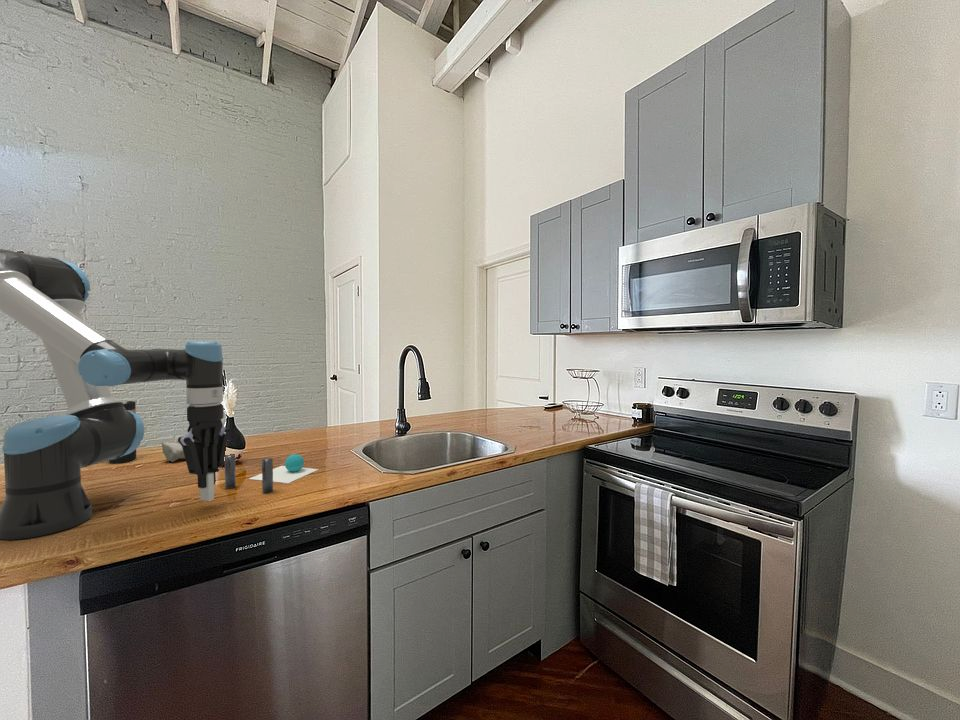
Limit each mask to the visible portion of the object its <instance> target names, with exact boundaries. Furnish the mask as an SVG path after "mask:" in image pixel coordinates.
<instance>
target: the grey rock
mask: <svg viewBox="0 0 960 720" xmlns="http://www.w3.org/2000/svg"><path fill="white" fill-rule="evenodd" d="M184 436H185V435H183V436H182V437H184ZM193 443H194V442H193ZM161 447H162V453H163V454H164V456H165V458H166V460H167V462H169V461H171V462H170V463H174V462H175V461H177V460H180V459H181V460H186V459H185V455H184V452H183V448H182V446H181V444H180V443H179V442H178V440H177V441H174V442H167V441H162V442H161Z"/></svg>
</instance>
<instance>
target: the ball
mask: <svg viewBox="0 0 960 720" xmlns="http://www.w3.org/2000/svg"><path fill="white" fill-rule="evenodd" d="M304 465H305V460H304V457H303V456H302V455H300V454H296V453H295V454H291V455H289V456H288V457H286V459H285V461H284V466H285V467H286V469H287V470H288V471H290V472H297V471H299V470H301V469H302V468H304Z"/></svg>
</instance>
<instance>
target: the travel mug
mask: <svg viewBox="0 0 960 720" xmlns="http://www.w3.org/2000/svg"><path fill="white" fill-rule="evenodd" d="M123 405H124V407H125V410H127V411H132V412H134V413H135V414H137V411H136V409H137V408H136V401H133V400H128V401H126V402H123ZM135 459H136V460H137V449H136V450H134V451H133V452H131V453H130V454H127V455H124V456H122V457H120V458H117V459H114V460H108V463H109V464H112V465H115V464H126V462H127V463H130V461H131V462H134V461H136V460H135ZM133 460H134V461H133Z"/></svg>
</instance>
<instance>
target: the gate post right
mask: <svg viewBox="0 0 960 720" xmlns="http://www.w3.org/2000/svg"><path fill="white" fill-rule="evenodd" d="M273 458H274V457H264V458H261V459H262V460H261V471H262V472H261V474H262V481H261V482H262V483H261V484H262V486H261V487H262V493H263V494H271V493H273V492H274V482H273V469H274V462H273V460H274V459H273Z"/></svg>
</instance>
